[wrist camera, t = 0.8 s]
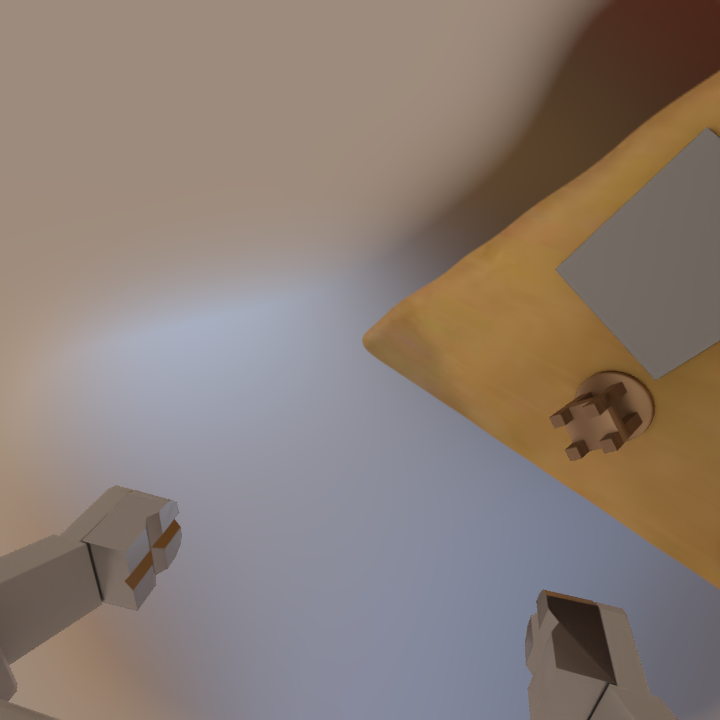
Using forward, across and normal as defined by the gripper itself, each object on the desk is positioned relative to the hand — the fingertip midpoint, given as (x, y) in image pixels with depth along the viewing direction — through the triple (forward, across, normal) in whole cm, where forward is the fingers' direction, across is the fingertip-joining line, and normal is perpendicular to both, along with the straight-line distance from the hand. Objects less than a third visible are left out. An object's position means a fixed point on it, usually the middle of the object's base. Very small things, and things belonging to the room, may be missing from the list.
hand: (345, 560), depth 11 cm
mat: (+39, -20, +1) cm, 44 cm away
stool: (+39, -19, +15) cm, 46 cm away
